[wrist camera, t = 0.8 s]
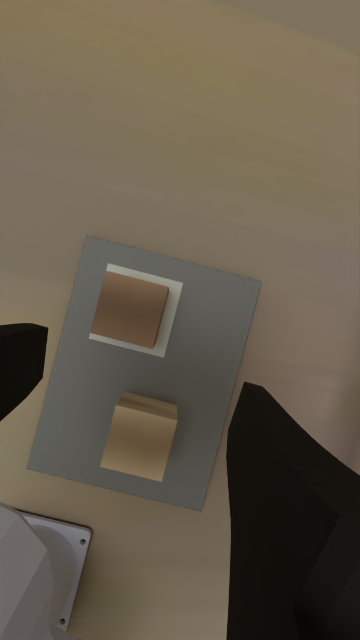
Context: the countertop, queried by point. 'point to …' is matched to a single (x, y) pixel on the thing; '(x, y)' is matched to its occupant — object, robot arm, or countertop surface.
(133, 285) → the walnut block
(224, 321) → the build board
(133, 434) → the beech block
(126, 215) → the countertop surface
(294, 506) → the robot arm
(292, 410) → the countertop surface
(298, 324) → the countertop surface
